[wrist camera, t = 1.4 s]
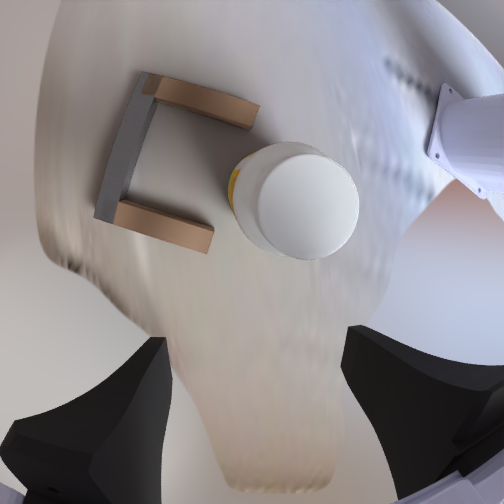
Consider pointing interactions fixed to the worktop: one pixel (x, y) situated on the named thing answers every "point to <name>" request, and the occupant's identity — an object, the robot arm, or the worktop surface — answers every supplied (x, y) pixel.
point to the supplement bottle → (293, 201)
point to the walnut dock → (129, 146)
